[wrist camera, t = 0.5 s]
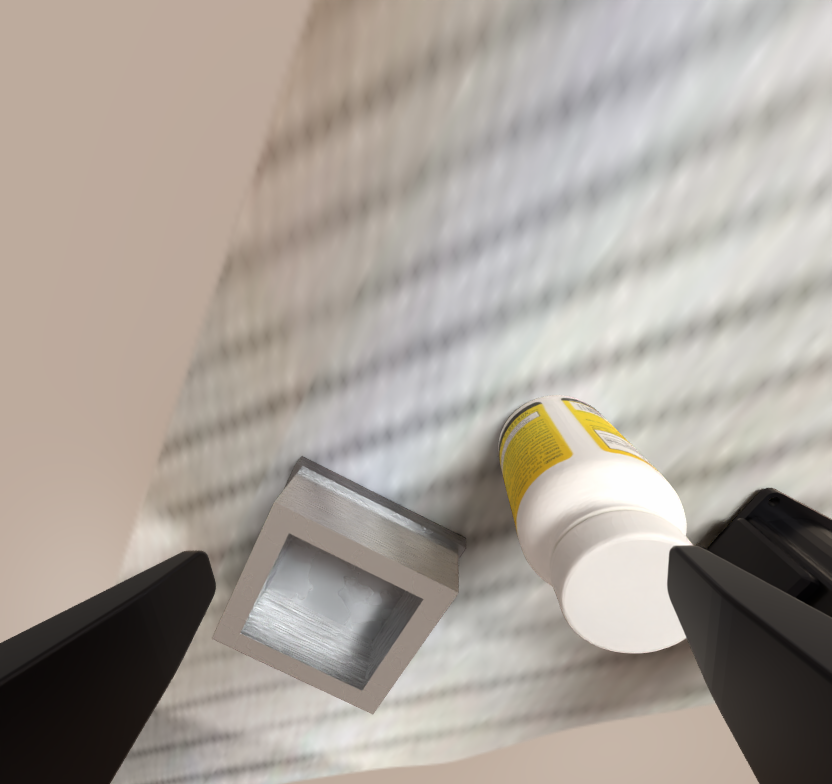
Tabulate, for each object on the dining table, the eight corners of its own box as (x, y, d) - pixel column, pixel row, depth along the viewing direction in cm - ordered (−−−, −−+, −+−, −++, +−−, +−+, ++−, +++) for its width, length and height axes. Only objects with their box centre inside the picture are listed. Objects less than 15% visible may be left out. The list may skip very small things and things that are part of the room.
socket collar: (465, 538, 22) (467, 590, 18) (387, 654, 25) (375, 719, 21) (301, 456, 21) (270, 493, 18) (241, 585, 24) (204, 639, 21)
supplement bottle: (502, 496, 21) (537, 676, 12) (491, 399, 20) (524, 516, 10) (609, 488, 20) (739, 672, 11) (608, 386, 19) (756, 500, 10)
